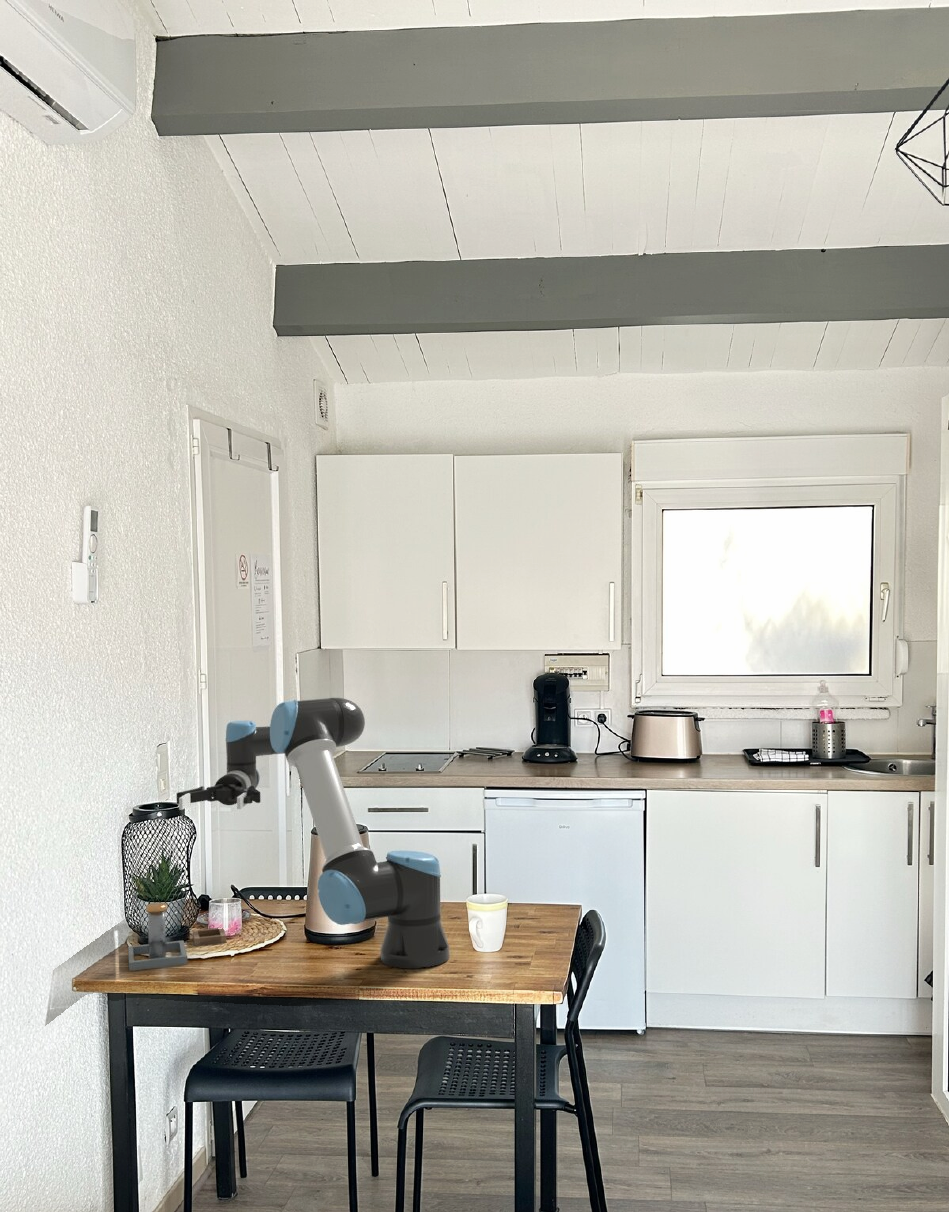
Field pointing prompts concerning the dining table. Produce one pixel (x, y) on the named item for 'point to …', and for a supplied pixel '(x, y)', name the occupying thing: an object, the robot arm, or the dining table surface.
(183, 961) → the tray
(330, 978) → the dining table surface
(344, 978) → the dining table surface
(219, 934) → the socket block
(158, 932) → the pin
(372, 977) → the dining table surface
